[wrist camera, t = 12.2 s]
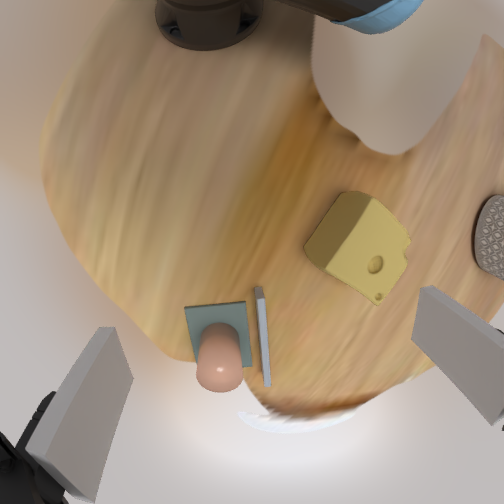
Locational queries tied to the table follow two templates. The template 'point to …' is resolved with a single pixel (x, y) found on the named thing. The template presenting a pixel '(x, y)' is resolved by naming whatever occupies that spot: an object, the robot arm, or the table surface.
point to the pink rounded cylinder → (219, 358)
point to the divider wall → (262, 335)
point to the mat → (220, 313)
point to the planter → (491, 237)
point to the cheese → (360, 245)
